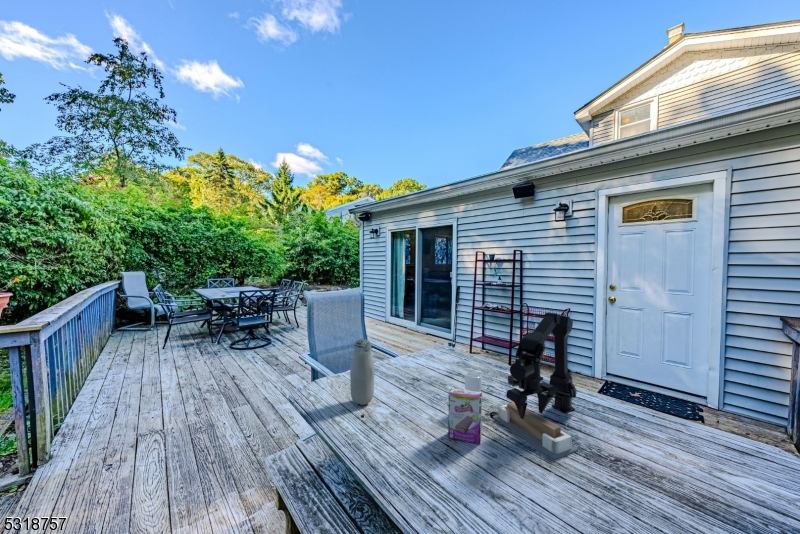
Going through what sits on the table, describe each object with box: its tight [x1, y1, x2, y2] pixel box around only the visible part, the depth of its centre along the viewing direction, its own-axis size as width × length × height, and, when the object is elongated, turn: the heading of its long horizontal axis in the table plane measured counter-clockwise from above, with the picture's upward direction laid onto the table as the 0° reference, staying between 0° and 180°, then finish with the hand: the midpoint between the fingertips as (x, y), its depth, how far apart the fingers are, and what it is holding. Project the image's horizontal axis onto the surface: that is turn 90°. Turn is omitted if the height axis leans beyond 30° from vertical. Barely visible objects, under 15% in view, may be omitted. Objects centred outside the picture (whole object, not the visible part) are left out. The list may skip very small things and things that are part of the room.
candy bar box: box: [447, 387, 483, 445], centre depth 106 cm, size 11×5×16 cm, turn 71°
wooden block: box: [506, 401, 562, 440], centre depth 110 cm, size 4×20×6 cm, turn 27°
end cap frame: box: [492, 403, 579, 460], centre depth 110 cm, size 11×28×5 cm, turn 24°
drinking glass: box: [464, 371, 482, 392], centre depth 126 cm, size 7×7×15 cm
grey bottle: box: [349, 338, 375, 406], centre depth 132 cm, size 10×10×28 cm
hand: (531, 415), depth 109 cm, fingers open, 9 cm apart
